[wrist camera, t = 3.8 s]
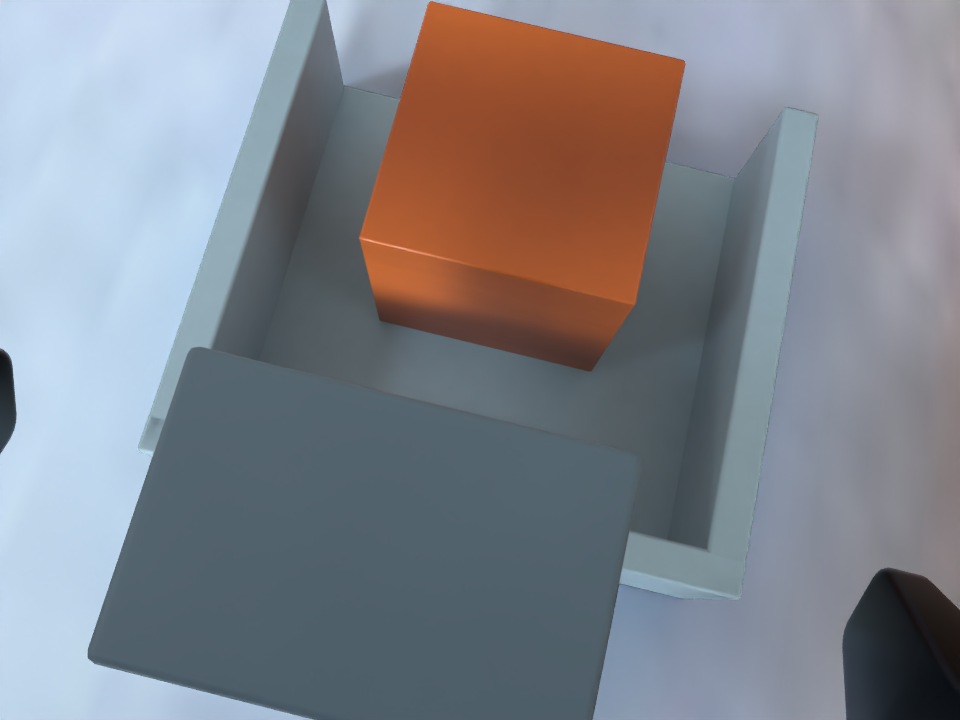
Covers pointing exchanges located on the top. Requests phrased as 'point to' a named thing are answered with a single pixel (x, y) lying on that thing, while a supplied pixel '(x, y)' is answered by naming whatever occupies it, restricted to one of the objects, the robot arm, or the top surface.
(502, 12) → the top surface
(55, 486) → the top surface
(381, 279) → the block
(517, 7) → the top surface
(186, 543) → the pale blue channel tray
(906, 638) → the robot arm
